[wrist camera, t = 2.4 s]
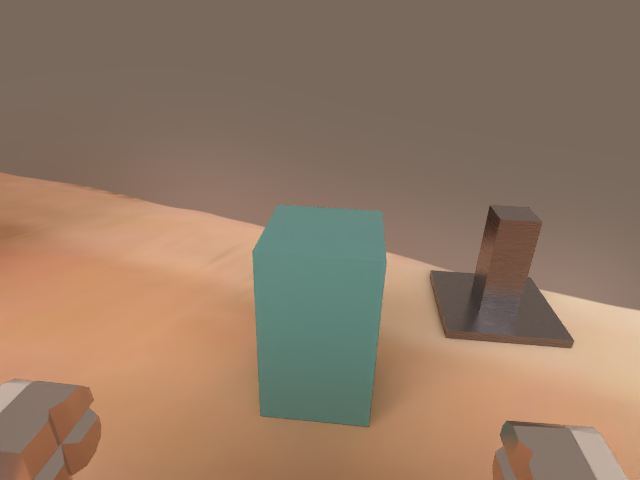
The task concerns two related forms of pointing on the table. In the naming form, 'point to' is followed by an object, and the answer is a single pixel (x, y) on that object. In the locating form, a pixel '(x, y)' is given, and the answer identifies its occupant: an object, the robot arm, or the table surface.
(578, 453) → the robot arm
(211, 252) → the table surface
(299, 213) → the teal upright pillar
